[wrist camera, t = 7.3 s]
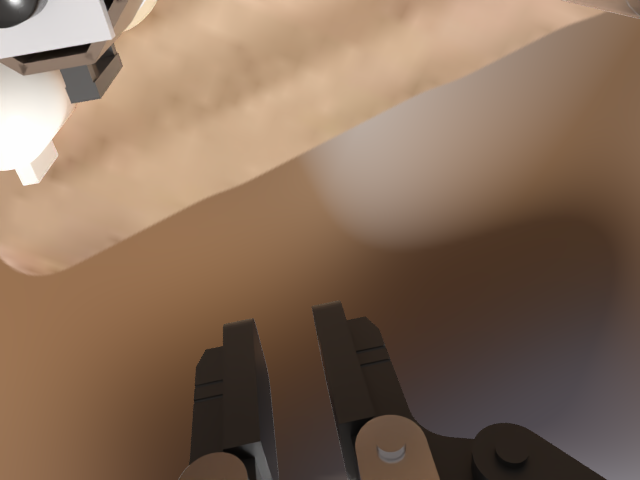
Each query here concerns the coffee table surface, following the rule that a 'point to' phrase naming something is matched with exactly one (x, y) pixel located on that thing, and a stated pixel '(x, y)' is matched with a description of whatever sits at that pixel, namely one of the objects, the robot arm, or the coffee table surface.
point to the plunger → (19, 11)
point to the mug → (31, 121)
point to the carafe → (73, 42)
